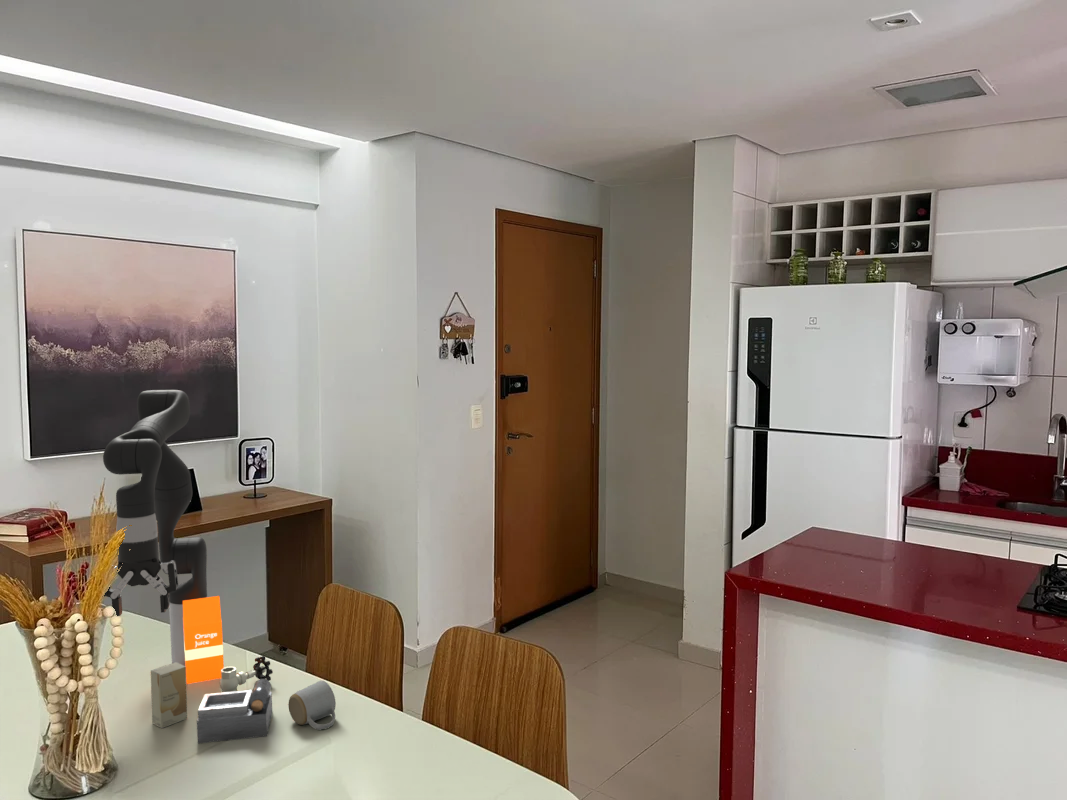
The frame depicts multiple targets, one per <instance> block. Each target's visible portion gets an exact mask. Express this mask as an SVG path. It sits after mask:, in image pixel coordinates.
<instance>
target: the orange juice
mask: <svg viewBox="0 0 1067 800" xmlns="http://www.w3.org/2000/svg"><path fill="white" fill-rule="evenodd" d="M221 612H222V611H221V599H220V595H217V596H216V595H214V596H209V597H208V596H207V598H199V599H192V600H185V601H183V626H184V629H183V630H184V651H185V666H186V685H189V684H190V685H191V684H194V683H201V682H202V683H203V682H207V681H213V680H218V679H221V669H223V668H225V666H224V643H223V621H222V613H221Z"/></svg>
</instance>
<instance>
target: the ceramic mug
mask: <svg viewBox="0 0 1067 800" xmlns="http://www.w3.org/2000/svg"><path fill="white" fill-rule="evenodd" d="M287 705H288V710H289V711H288V712H289V714H290V716H291V718H292V720H293V722H295V723H296V724H297V725H301V726H302V725H307V724H309V726H310V727H312V728H313V729H314V730H318V731H322V730H321V729H325V728H328V727H330V726H331V727H332V726H333V725H334V723H335V721H336V712H335V710H336V705H337V703H336V697H335V694H334V691H333V689H332V687H331V686H330V685H329V684H328V682H326V681H325V680H319V681H316V682H315V683H312V684H310V685H308V686H307V687H304V688H302V689H299V690H297V691H296V692H294V693H293V694H292V695H290V696H289V699H288V704H287ZM330 715H331V717H332V718H331V721H330V722H327V723H325V724H320V723H317V722H315V721H317V720H320V719H323V718H326V717H328V716H330ZM331 727H330V728H331ZM328 729H329V728H328ZM325 730H326V729H325Z"/></svg>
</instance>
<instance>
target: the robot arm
mask: <svg viewBox="0 0 1067 800" xmlns="http://www.w3.org/2000/svg"><path fill="white" fill-rule="evenodd" d="M136 408H137V409H136V410H137V416H138V417H137V418H138V421H137V422H136V423H135V424H134V425H133V426H132V427H131V429H130V430H129V431H128V432H124V433H123V434H121V435H119V436H116V437H114V438H113V439H112V440H110V441H109V443H107V445H106V447H105V449H104V451H103V456H102V460H103V464H104V468H106V469H107V471H109V472H110V473H111V474H114V475H120V476H121V475H122V476H123V475H141V478H140V481H138V482H136V483H132V484H128V485H124V486H120V487H119V488H118V489H117V490H116V493H115V500H116V517H117V518H116V532H117V531H118V530H120V529H122V528H124V527H126V526H127V527H126V528H124V529H123V530H125V529H127V530H126V531H124V533H125V537H124V538H125V539H124V540H123V542H122V544H121V545H120V547H119V555H118V554H117V565H114V566H115V567H114V568H115V569H116V568H117V567H118V569H119V568H120V567H121V566H122V567H121V569H120V571H119V572H118V573H117V572H116V574H117V575H118V576H119V577H120V579H121V580H120V582H119V583H118V585H116V587H115V589H113V588H111V585H110V587H109V589H108V591H107V592H106V593H105V595H104V597H103V598H105V597H107V598H110V599H111V608H112V607H113V608H114V609H115V611H116V614H115V616H116V615H117V616H116V617H121V616H122V614H123V601H122V595H121V593H122V591H123V590H124V589H125V588H126V586H127V585H129V586H130V587H136V586H148V585H149V584H150V585H151V586H152V587H153V588H154V589H156V590H157V591H158V593H160V595H159V602H160V613H166V611H167V610H168V609H169V628H170V629H169V630H170V631H169V632H170V647H171V648H170V649H171V650H170V651H171V653H170V654H171V664H172V663H175V662H178V663H180V664H182V665H184V666H185V651H184V630H183V629H184V626H183V601H185V600H192V599H199V598H207V597H208V588H207V587H208V586H207V585H208V583H207V581H208V580H207V565H208V564H207V560H208V559H207V558H208V557H207V556H208V553H207V552H208V551H207V544H206V541H205V539H204V538H203V537H199V536H198V537H182V538H181V537H178V538H177V537H175V536H174V533H175V529H176V527H177V524H178V523H179V521H180V519H181V517H183V516H182V515H184V513H185V511H187V509H188V507H189V505H190V503H191V501H192V499H193V498H192V497H193V493H194V492H193V486H192V478H191V471H190V469H189V468H188V466H187V465H186V464H185V462H184V461H183V460H182V459H181V458H180V457H179V456H178V455H177V454H176V453H175V452H174V451H173V450H172V449H171V448H170V446H169V445H168V444H167V442H166V441H167V439H168V438H170V437H171V436H173V435H174V434H175V433H177V432H178V431H180V430H181V429H182V428H184V427H185V426H186V425H187V423H188V422H189V419H190V415H191V405H190V398H189V396H188V394H187V393H186V392H185V391H183V390H178V389H152V390H151V389H150V390H143V391H141V392H140V393H139V395H138V397H137V399H136ZM129 525H132V526H129ZM129 549H131V550H130V551H129ZM122 563H123V564H122ZM161 570H162V571H163V573H164V574H166V575H167V576H168V582H169V584H167V583H166V582H165V581H164V580H163V577H162V576H160V575H159V572H161ZM117 571H118V570H117ZM188 574H189V575H191V578H190V579H188V580H187V581H184V582H182V583H179V579H178V575H188Z"/></svg>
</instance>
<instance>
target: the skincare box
mask: <svg viewBox="0 0 1067 800" xmlns="http://www.w3.org/2000/svg"><path fill="white" fill-rule="evenodd" d="M150 688H151V690H150V694H151V696H150V697H151V723H152V724H154V725H155V726H157V727H159V728H161V729H164V728H166V727H168V726H170V725H174V724H176V723H178V722H182V721H185V720H187V719H188V703H187V700H188V698H187V694H188V693H187V681H186V666H184V665H182V664H180V663H178V662H175V663H172V662H171V663H170V664H166V665H162V666H159V667H157V668H155V669H151V670H150Z"/></svg>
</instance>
